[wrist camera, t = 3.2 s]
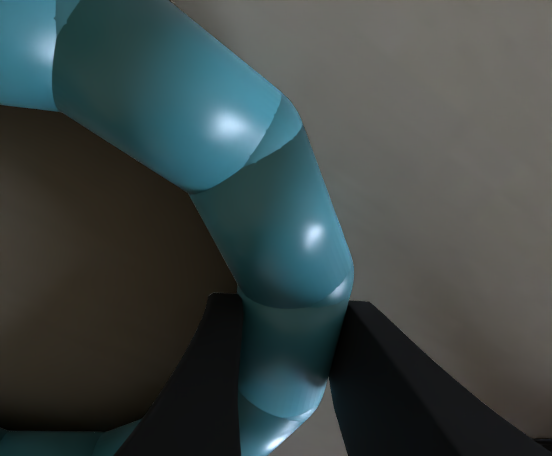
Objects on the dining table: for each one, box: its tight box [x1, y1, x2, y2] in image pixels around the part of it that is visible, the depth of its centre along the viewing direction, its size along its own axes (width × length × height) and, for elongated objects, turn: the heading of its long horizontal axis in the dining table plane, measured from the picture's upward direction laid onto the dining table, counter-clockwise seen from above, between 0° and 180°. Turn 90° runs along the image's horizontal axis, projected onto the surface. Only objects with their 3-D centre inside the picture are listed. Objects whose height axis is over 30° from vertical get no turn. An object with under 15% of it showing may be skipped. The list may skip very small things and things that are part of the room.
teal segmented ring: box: [0, 0, 354, 456], centre depth 9 cm, size 14×14×2 cm
